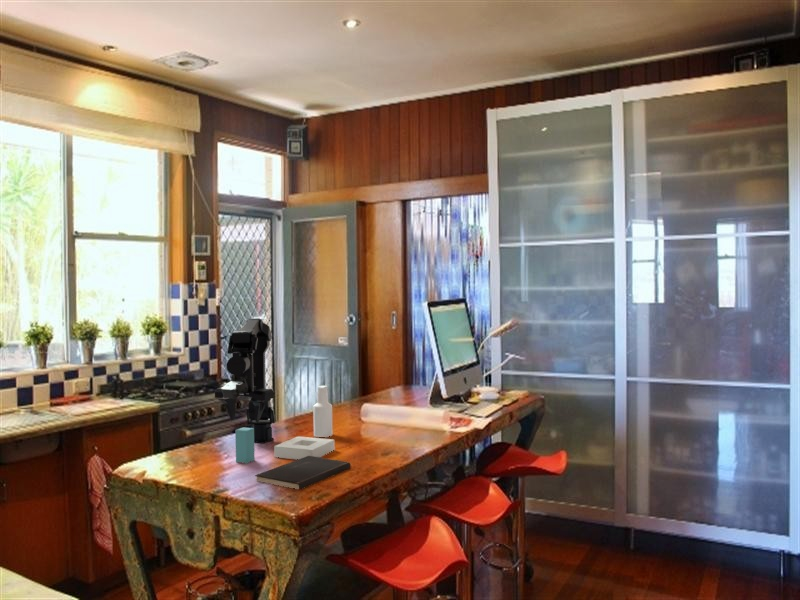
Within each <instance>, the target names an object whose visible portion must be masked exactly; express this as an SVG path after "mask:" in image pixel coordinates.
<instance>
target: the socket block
mask: <svg viewBox="0 0 800 600" xmlns="http://www.w3.org/2000/svg"><path fill="white" fill-rule="evenodd" d="M335 445H336V444H335V439H333V438H332V439H330V438H319V437H307V436H295V437H293V438H291V439H288V440H286V441H283V442H281V443H279V444H275V445H274V446H273V448H274V449H273V450H274V451H273V452H274V453H273V454H274V456H273V457H274V458H278V457H279V459H287V460H289V459H290V460H297V459H301V458H304V457H307V456H313V457H319V458H323V457H324V456H326V455H328V454H330V453H332V452H334V451H336V448H335ZM333 450H334V451H333ZM331 451H332V452H331ZM329 452H330V453H329ZM327 453H328V454H327ZM325 454H326V455H325Z"/></svg>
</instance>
